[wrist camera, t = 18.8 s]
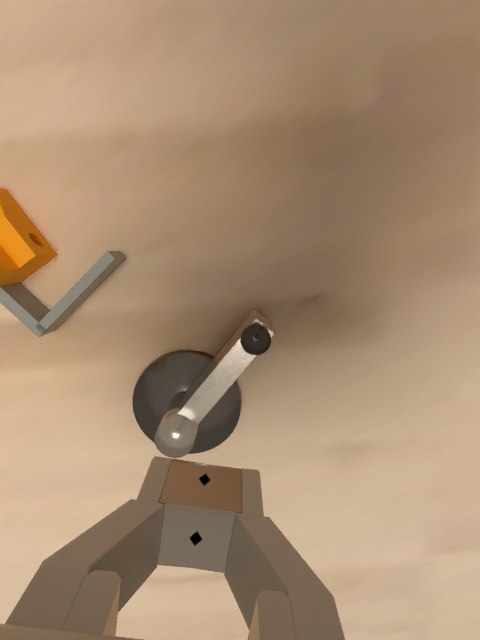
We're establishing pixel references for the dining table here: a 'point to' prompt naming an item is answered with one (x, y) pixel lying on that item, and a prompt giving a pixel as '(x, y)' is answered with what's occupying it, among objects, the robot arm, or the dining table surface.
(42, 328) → the bay
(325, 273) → the dining table surface
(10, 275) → the pipe clamp
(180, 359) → the crank base
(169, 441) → the crank
